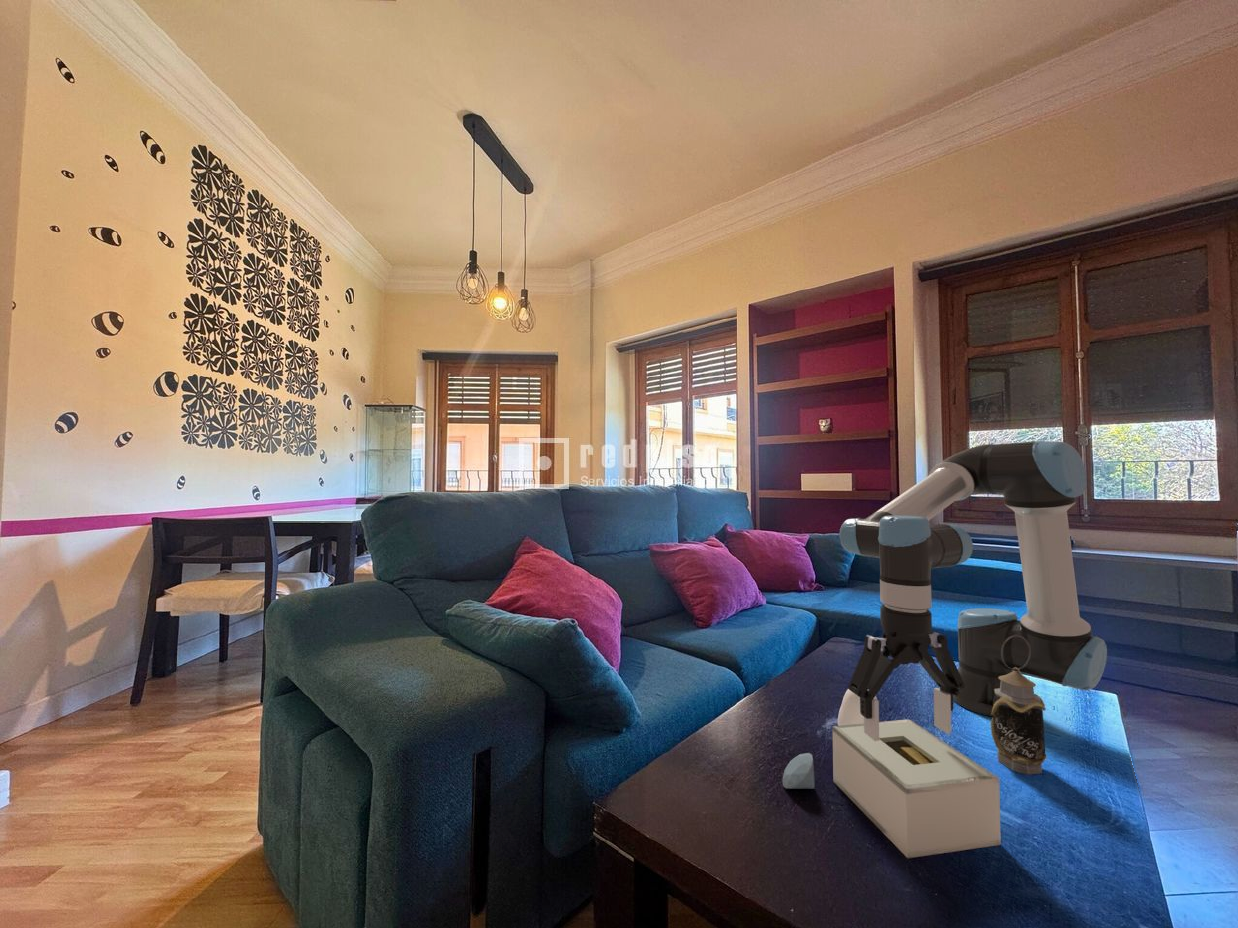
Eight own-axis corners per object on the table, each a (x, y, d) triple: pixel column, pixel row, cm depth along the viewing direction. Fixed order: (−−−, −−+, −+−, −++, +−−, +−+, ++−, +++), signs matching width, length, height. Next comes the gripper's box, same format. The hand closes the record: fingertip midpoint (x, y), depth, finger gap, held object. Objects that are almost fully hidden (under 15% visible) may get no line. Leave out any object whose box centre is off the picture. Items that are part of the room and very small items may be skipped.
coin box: (910, 772, 90) (909, 719, 90) (1000, 844, 72) (999, 777, 73) (833, 781, 87) (832, 726, 88) (907, 858, 70) (906, 788, 70)
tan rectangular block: (906, 791, 83) (914, 747, 82) (930, 814, 78) (939, 767, 77) (892, 791, 82) (900, 747, 82) (915, 814, 77) (924, 767, 77)
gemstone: (830, 763, 88) (809, 741, 89) (830, 793, 81) (807, 769, 82) (800, 783, 90) (780, 761, 91) (797, 814, 83) (776, 790, 85)
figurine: (883, 753, 96) (882, 694, 97) (842, 749, 98) (842, 690, 98) (871, 735, 103) (871, 679, 103) (834, 731, 105) (833, 676, 105)
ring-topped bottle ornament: (1019, 779, 88) (1016, 643, 89) (980, 754, 96) (977, 629, 97) (1059, 774, 89) (1055, 640, 90) (1017, 750, 97) (1013, 627, 98)
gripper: (950, 598, 87) (952, 716, 86) (825, 604, 83) (827, 727, 82) (988, 609, 79) (991, 738, 79) (853, 616, 75) (855, 752, 75)
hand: (907, 733), depth 80 cm, fingers open, 13 cm apart
